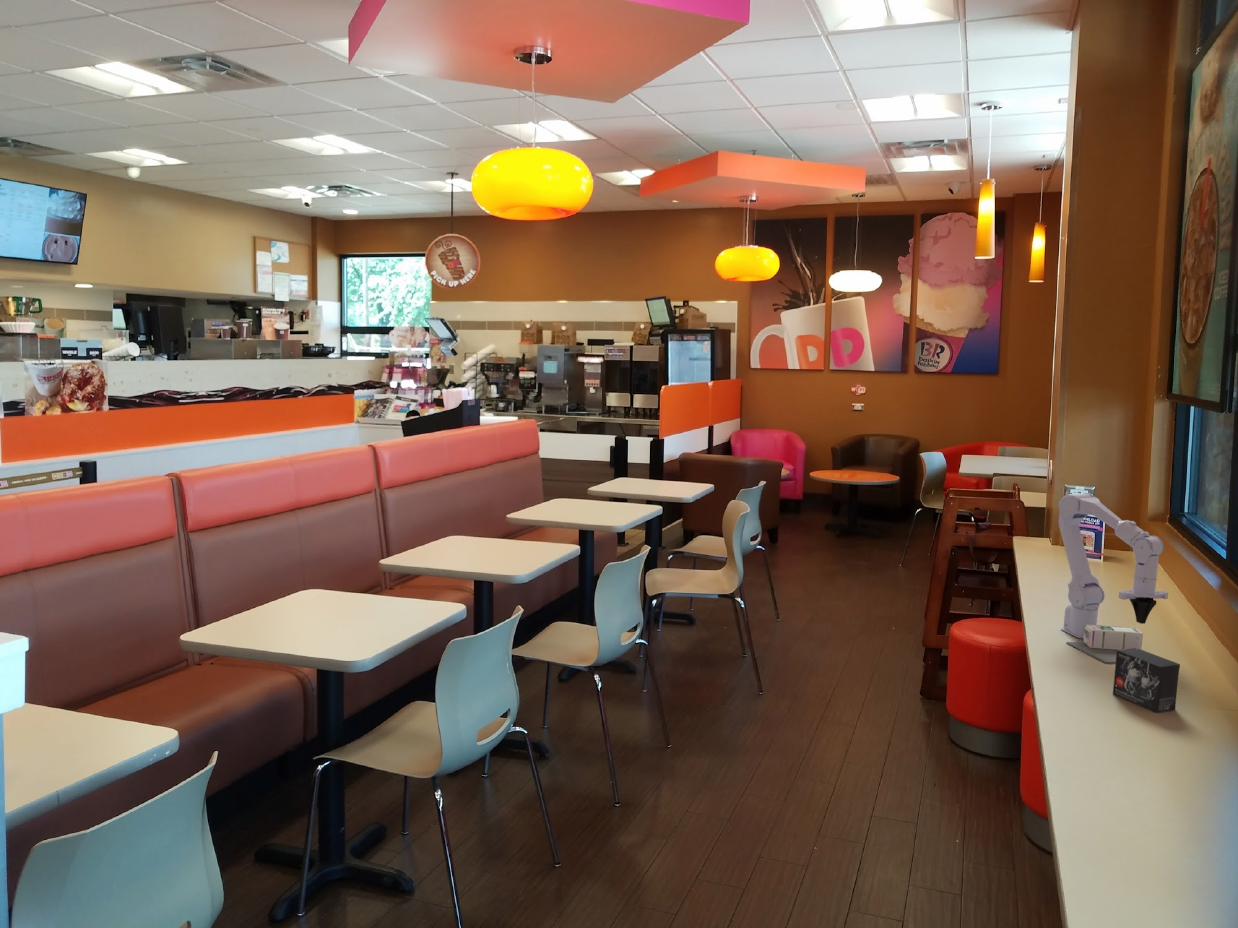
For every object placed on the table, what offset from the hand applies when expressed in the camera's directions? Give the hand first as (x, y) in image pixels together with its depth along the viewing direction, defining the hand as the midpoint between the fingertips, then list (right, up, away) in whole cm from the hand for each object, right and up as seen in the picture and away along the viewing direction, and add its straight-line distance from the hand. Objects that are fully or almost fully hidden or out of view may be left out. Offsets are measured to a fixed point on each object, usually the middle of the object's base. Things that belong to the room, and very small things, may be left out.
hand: (1140, 622), depth 278 cm
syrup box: (+1, -6, +2) cm, 6 cm away
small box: (-21, -14, -39) cm, 47 cm away
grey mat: (-9, -9, 0) cm, 13 cm away
